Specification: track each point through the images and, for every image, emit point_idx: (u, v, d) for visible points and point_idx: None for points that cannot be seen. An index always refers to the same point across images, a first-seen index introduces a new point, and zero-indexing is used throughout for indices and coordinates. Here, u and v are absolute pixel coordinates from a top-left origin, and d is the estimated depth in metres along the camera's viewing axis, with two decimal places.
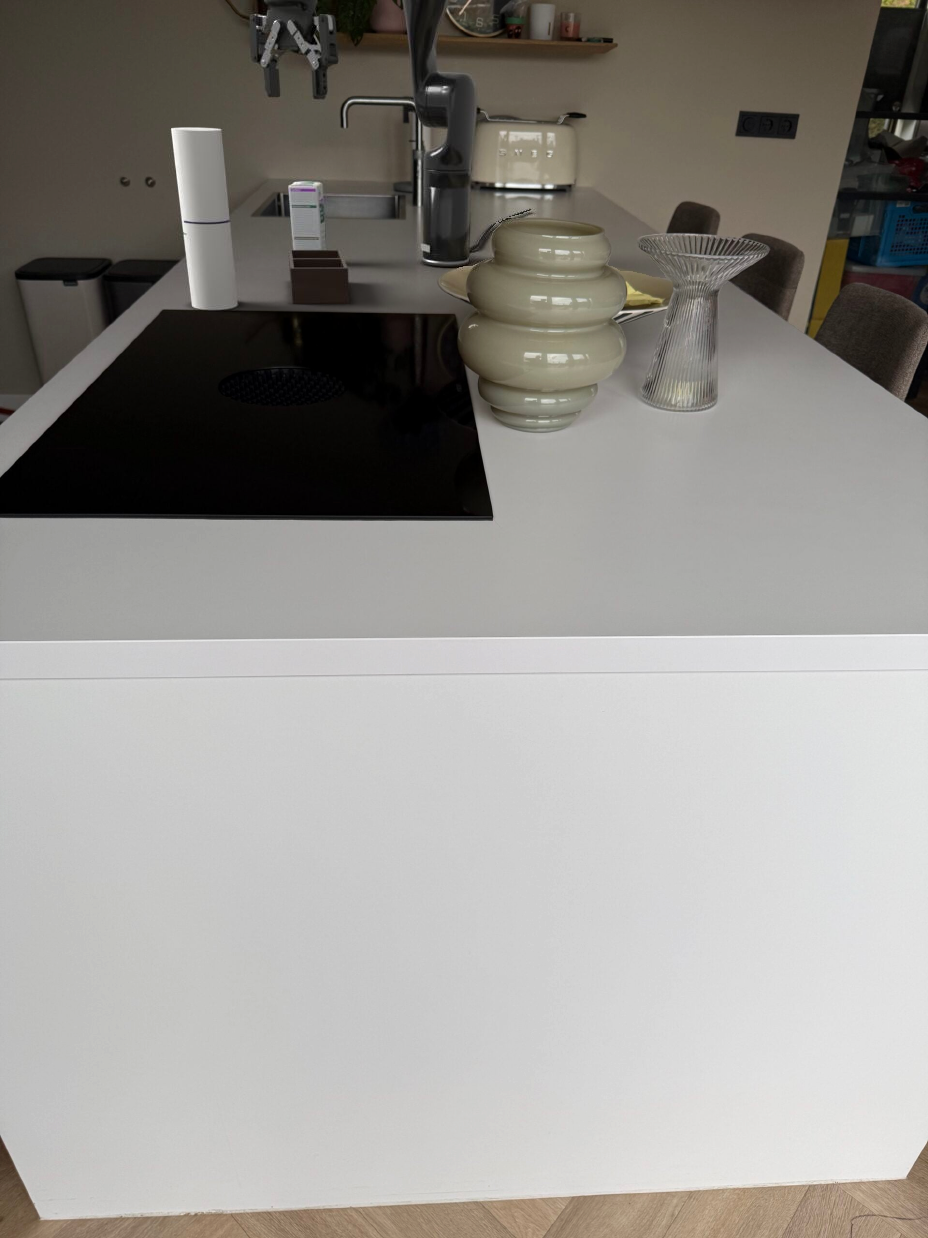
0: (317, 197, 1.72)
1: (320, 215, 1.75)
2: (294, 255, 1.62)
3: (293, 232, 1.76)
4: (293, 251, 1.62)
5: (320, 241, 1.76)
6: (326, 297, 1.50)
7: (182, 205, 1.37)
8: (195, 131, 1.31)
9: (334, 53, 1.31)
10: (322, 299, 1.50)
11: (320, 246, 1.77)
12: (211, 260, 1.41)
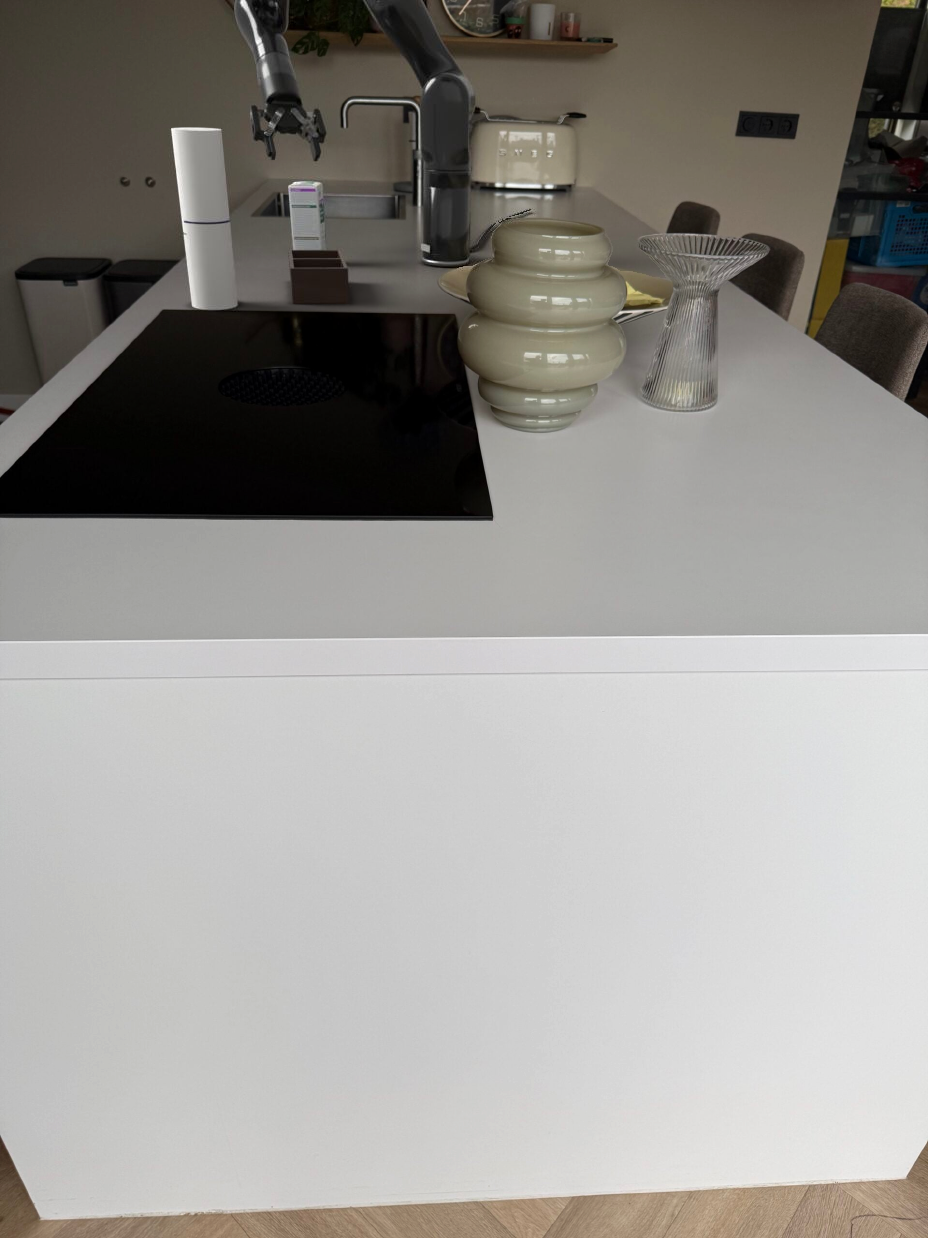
0: (317, 197, 1.72)
1: (320, 215, 1.75)
2: (294, 255, 1.62)
3: (293, 232, 1.76)
4: (293, 251, 1.62)
5: (320, 241, 1.76)
6: (326, 297, 1.50)
7: (182, 205, 1.37)
8: (195, 131, 1.31)
9: None
10: (322, 299, 1.50)
11: (320, 246, 1.77)
12: (211, 260, 1.41)
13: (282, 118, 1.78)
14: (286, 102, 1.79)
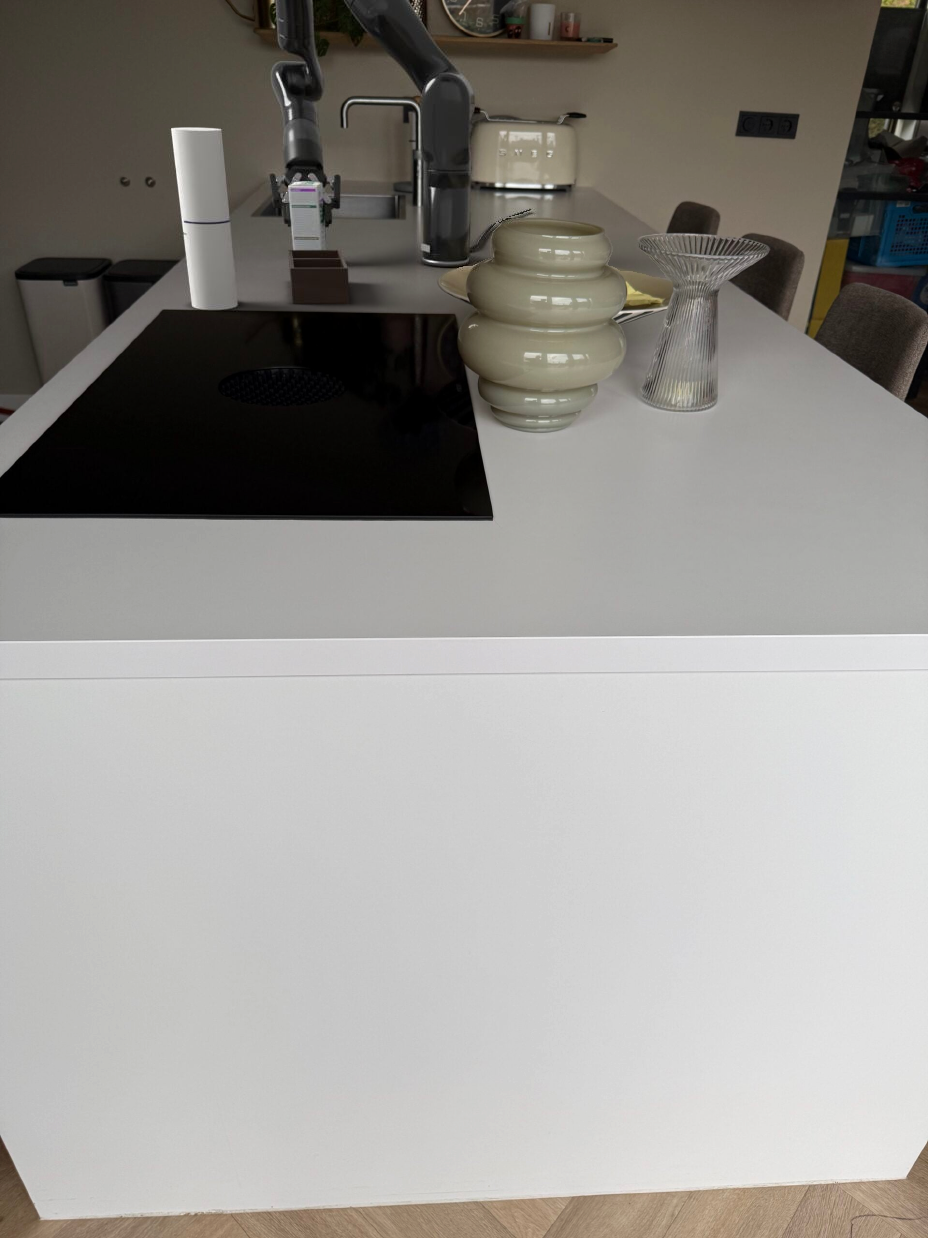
0: (317, 197, 1.72)
1: (320, 215, 1.75)
2: (294, 255, 1.62)
3: (293, 232, 1.76)
4: (293, 251, 1.62)
5: (320, 241, 1.76)
6: (326, 297, 1.50)
7: (182, 205, 1.37)
8: (195, 131, 1.31)
9: None
10: (322, 299, 1.50)
11: (320, 246, 1.77)
12: (211, 260, 1.41)
13: None
14: (306, 168, 1.78)
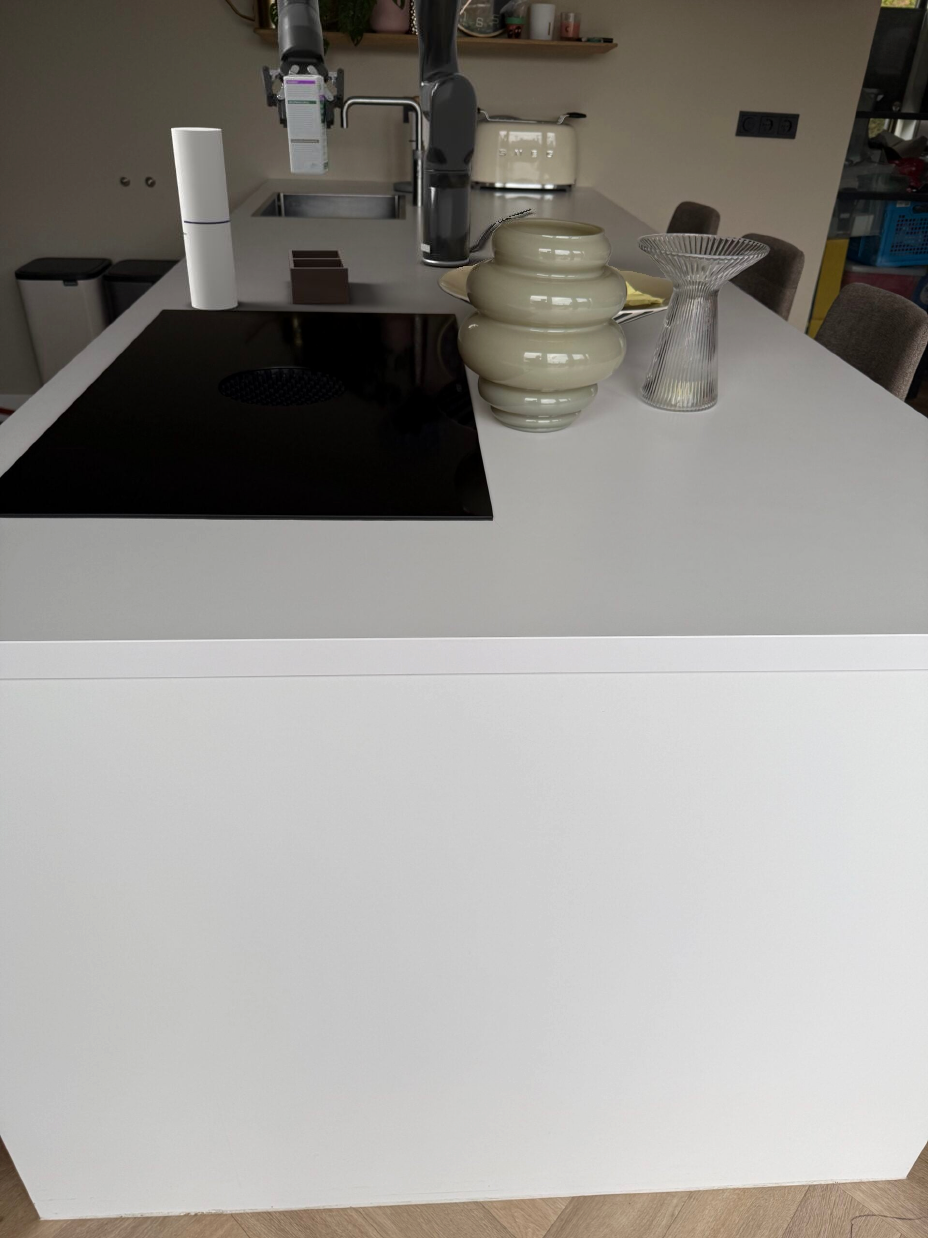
0: (317, 91, 1.49)
1: (321, 113, 1.51)
2: (294, 255, 1.62)
3: (289, 133, 1.52)
4: (293, 251, 1.62)
5: (321, 144, 1.53)
6: (326, 297, 1.50)
7: (182, 205, 1.37)
8: (195, 131, 1.31)
9: None
10: (322, 299, 1.50)
11: (321, 150, 1.53)
12: (211, 260, 1.41)
13: None
14: (304, 60, 1.54)
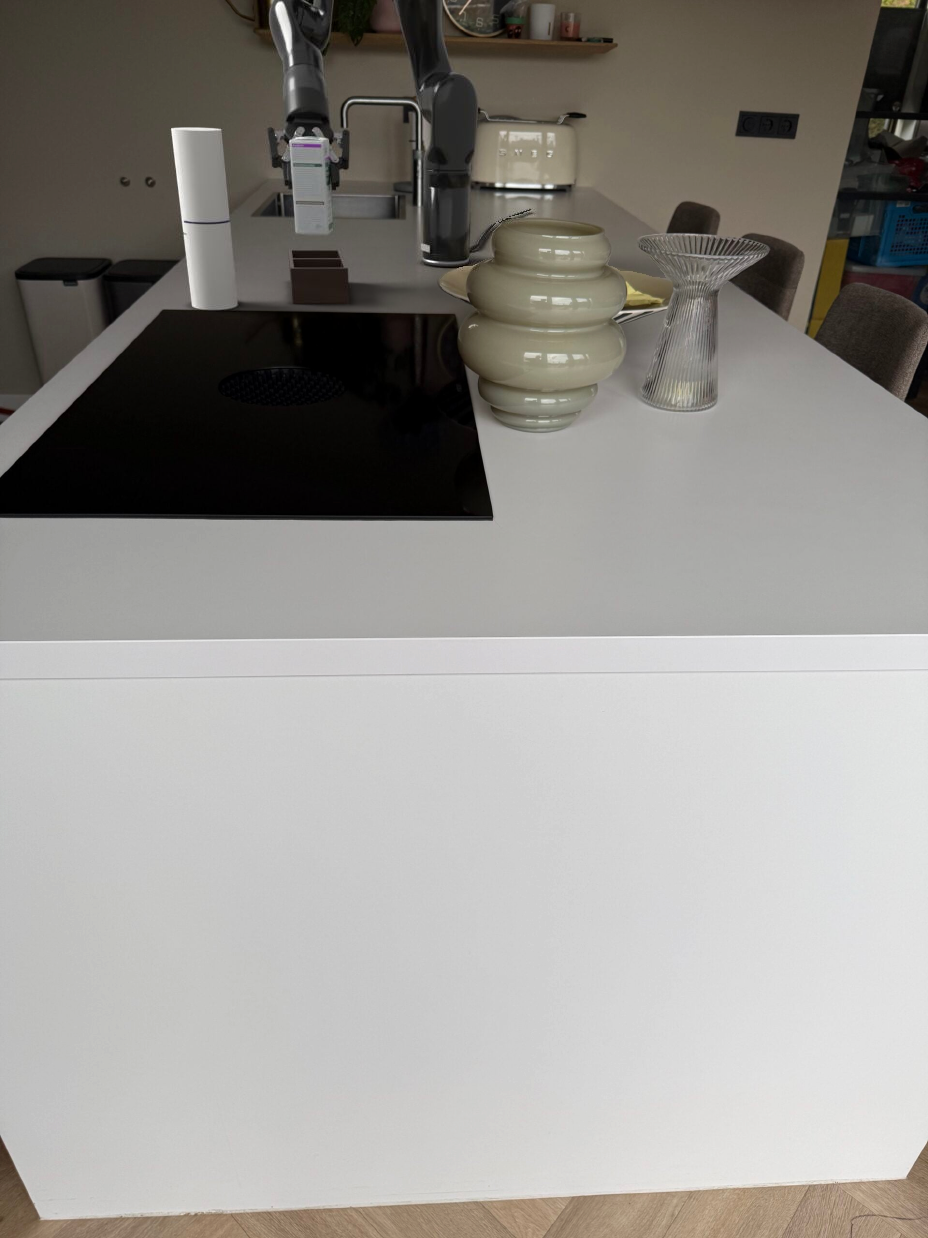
0: (323, 154, 1.48)
1: (326, 176, 1.51)
2: (294, 255, 1.62)
3: (295, 195, 1.51)
4: (293, 251, 1.62)
5: (326, 206, 1.52)
6: (326, 297, 1.50)
7: (182, 205, 1.37)
8: (195, 131, 1.31)
9: None
10: (322, 299, 1.50)
11: (326, 212, 1.53)
12: (211, 260, 1.41)
13: None
14: (309, 121, 1.53)
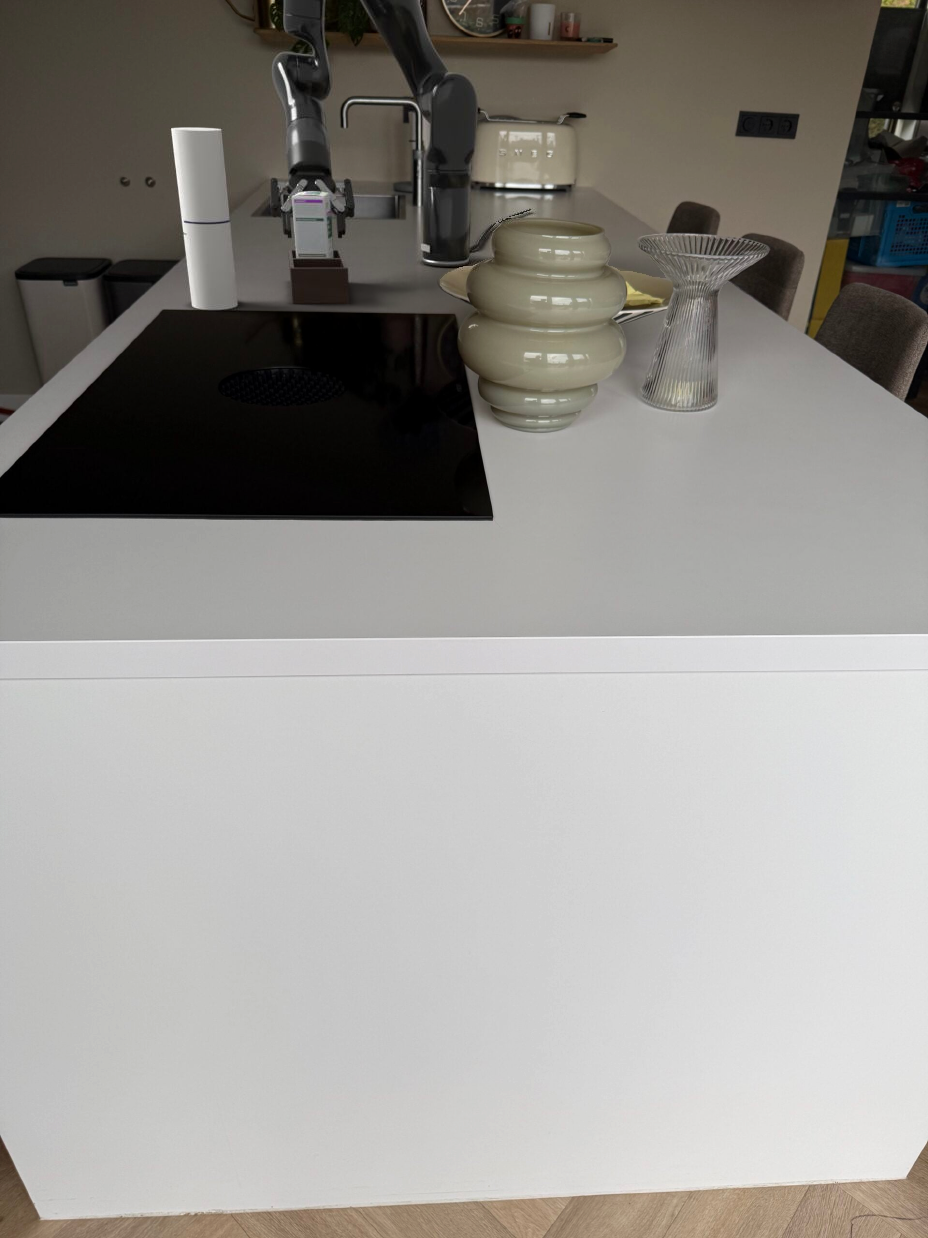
0: (324, 209, 1.53)
1: (327, 229, 1.55)
2: (294, 255, 1.62)
3: (297, 248, 1.56)
4: (293, 251, 1.62)
5: None
6: (326, 297, 1.50)
7: (182, 205, 1.37)
8: (195, 131, 1.31)
9: None
10: (322, 299, 1.50)
11: None
12: (211, 260, 1.41)
13: None
14: (312, 173, 1.57)
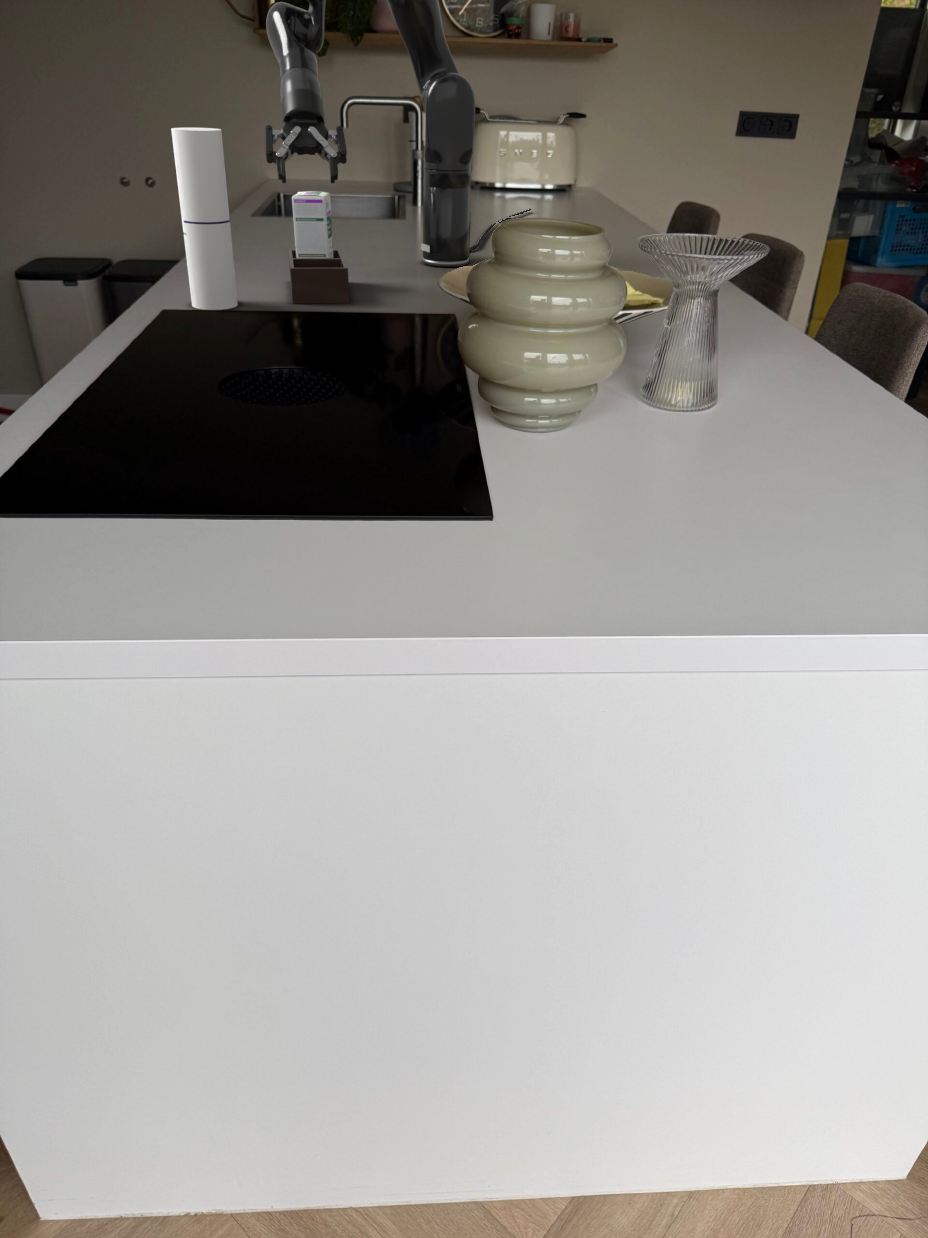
0: (324, 209, 1.53)
1: (327, 229, 1.55)
2: (294, 255, 1.62)
3: (297, 248, 1.56)
4: (293, 251, 1.62)
5: None
6: (326, 297, 1.50)
7: (182, 205, 1.37)
8: (195, 131, 1.31)
9: None
10: (322, 299, 1.50)
11: None
12: (211, 260, 1.41)
13: (298, 138, 1.62)
14: (305, 121, 1.63)
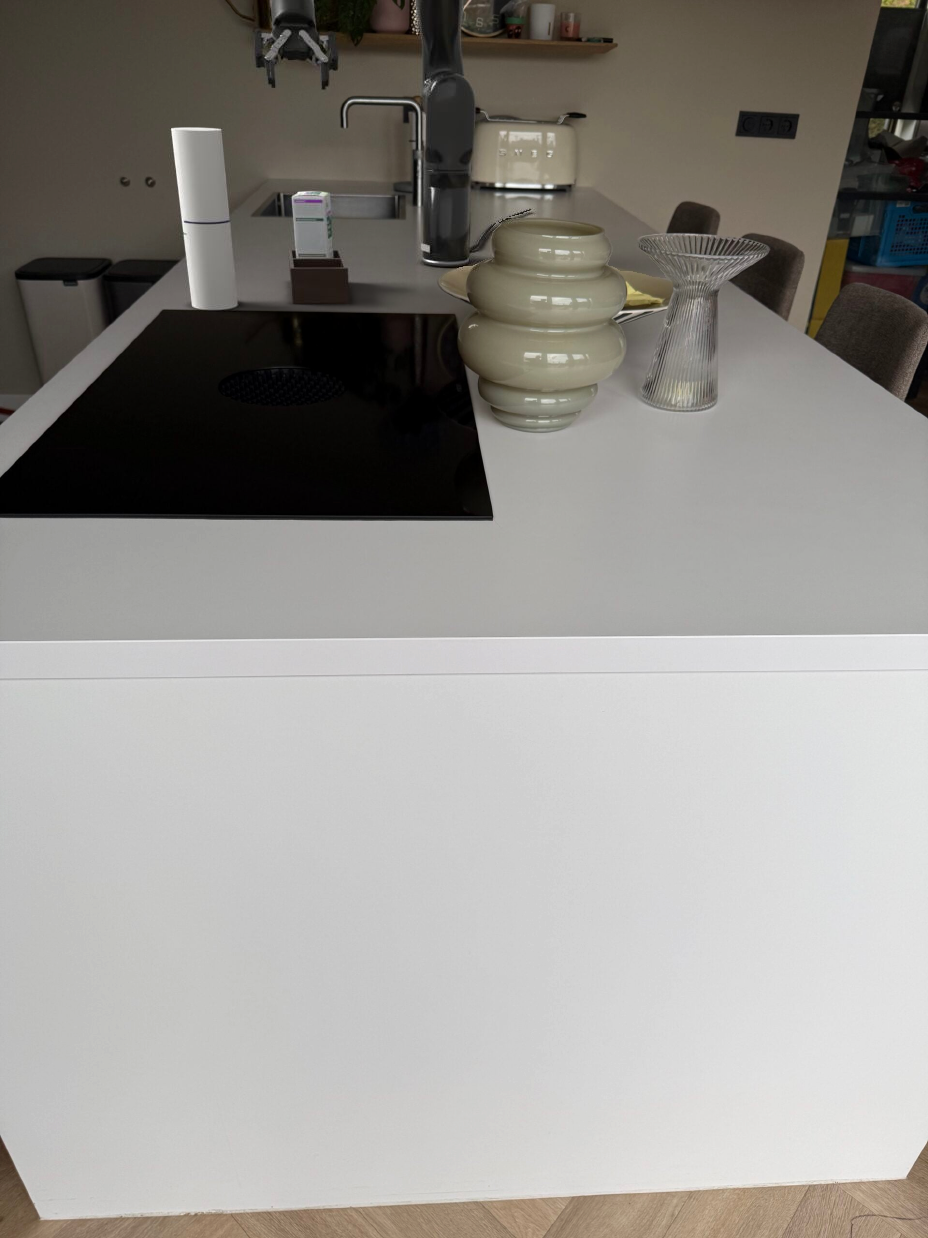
0: (324, 209, 1.53)
1: (327, 229, 1.55)
2: (294, 255, 1.62)
3: (297, 248, 1.56)
4: (293, 251, 1.62)
5: None
6: (326, 297, 1.50)
7: (182, 205, 1.37)
8: (195, 131, 1.31)
9: None
10: (322, 299, 1.50)
11: None
12: (211, 260, 1.41)
13: (289, 41, 1.58)
14: (296, 25, 1.58)
